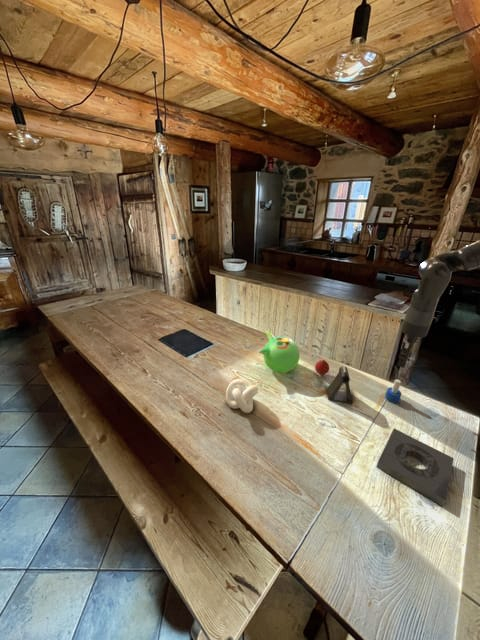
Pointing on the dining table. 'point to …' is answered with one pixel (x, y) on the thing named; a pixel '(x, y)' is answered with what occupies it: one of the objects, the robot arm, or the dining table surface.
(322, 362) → the strawberry
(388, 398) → the sink plug
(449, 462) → the dark rectangular plate
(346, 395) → the phone stand
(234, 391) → the cream knot sculpture
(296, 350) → the toy bird
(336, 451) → the dining table surface
